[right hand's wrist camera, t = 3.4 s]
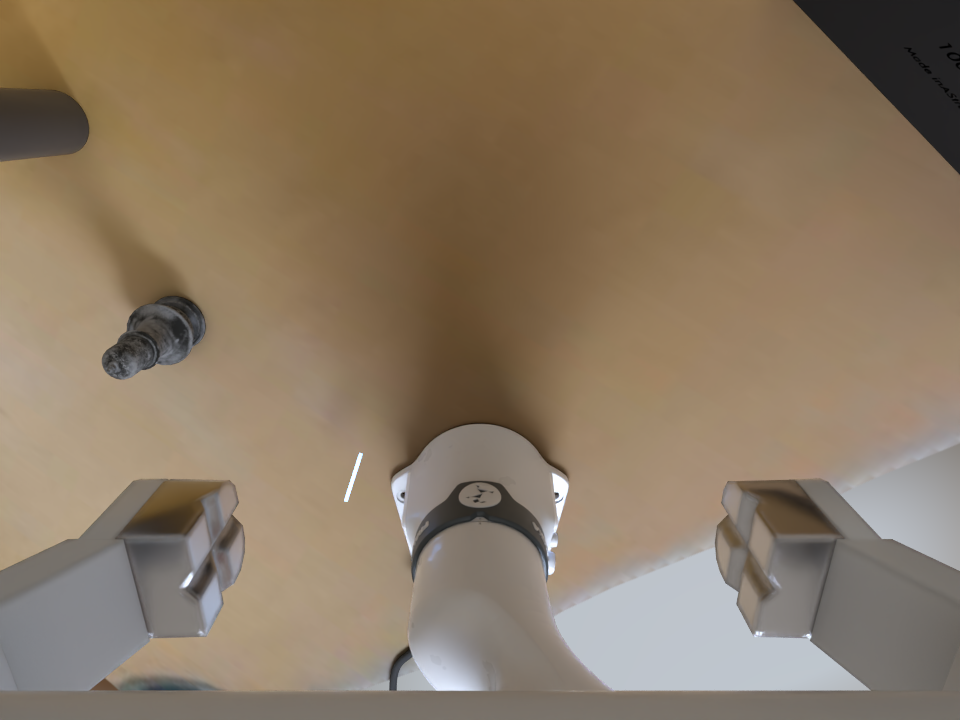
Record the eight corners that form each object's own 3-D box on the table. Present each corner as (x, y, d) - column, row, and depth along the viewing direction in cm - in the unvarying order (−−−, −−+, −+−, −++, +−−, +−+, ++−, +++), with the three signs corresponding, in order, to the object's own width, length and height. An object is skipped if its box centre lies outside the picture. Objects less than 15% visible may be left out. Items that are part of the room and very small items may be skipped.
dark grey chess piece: (136, 328, 60) (57, 379, 49) (162, 280, 58) (87, 321, 47) (191, 362, 61) (127, 418, 50) (219, 316, 59) (159, 364, 48)
